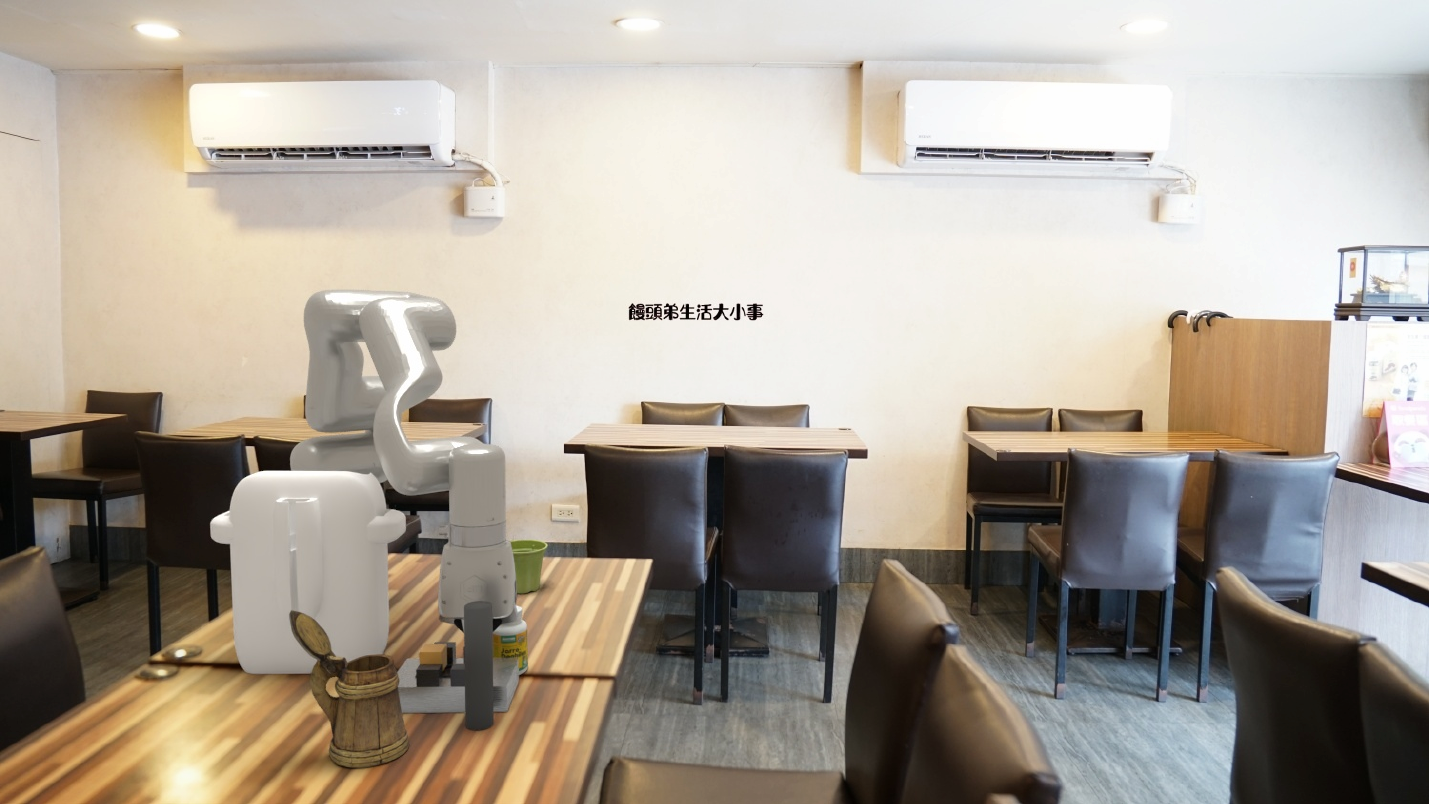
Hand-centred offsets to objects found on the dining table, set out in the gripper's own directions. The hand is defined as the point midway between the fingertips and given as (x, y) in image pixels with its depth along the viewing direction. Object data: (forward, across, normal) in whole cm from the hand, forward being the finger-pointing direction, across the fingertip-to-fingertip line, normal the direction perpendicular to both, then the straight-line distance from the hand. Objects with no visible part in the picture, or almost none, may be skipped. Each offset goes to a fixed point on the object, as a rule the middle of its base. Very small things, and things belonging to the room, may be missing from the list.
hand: (479, 661), depth 126 cm
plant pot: (+5, -1, +49) cm, 49 cm away
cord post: (+5, +2, -8) cm, 10 cm away
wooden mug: (+5, -12, -15) cm, 21 cm away
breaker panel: (+5, -3, 0) cm, 6 cm away
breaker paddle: (+1, -6, 0) cm, 6 cm away
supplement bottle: (+5, +3, +9) cm, 11 cm away
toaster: (+5, -27, +11) cm, 30 cm away
